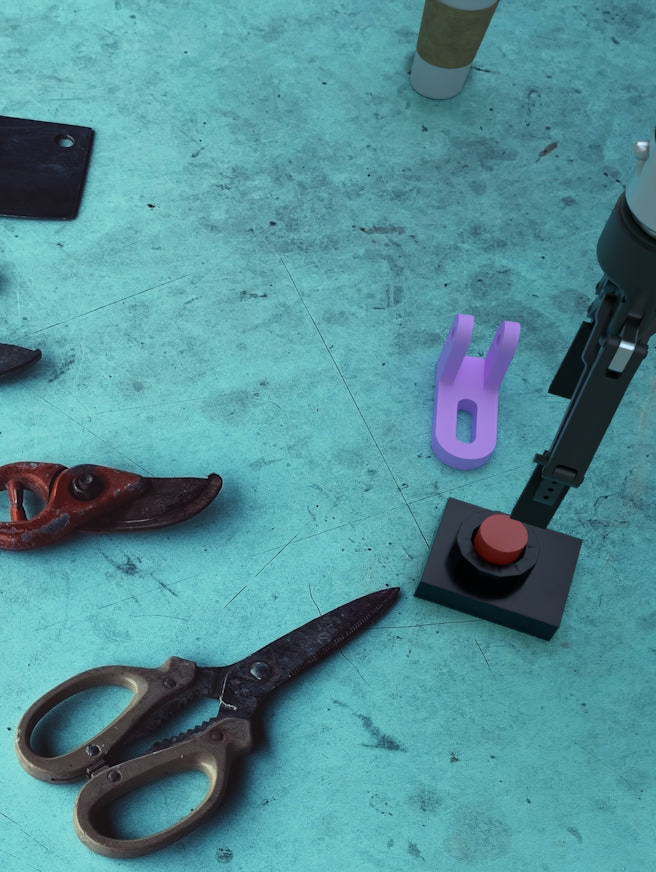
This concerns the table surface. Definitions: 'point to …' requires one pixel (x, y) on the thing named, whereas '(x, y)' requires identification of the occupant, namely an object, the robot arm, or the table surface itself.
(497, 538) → the button
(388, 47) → the table surface
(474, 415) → the bracket
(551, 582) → the switch box
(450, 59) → the coffee cup
